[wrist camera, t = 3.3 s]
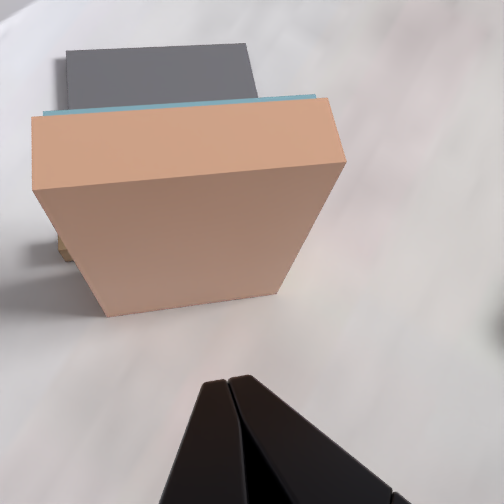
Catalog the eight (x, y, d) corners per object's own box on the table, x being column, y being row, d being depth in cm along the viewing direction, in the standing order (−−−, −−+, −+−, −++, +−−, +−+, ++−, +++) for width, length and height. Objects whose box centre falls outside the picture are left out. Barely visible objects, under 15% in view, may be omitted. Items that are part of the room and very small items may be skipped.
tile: (276, 294, 20) (346, 161, 11) (106, 317, 19) (32, 190, 10) (266, 247, 21) (325, 88, 12) (103, 266, 20) (31, 106, 11)
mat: (282, 216, 22) (283, 211, 21) (76, 239, 20) (74, 233, 20) (244, 50, 26) (245, 43, 25) (68, 58, 24) (65, 50, 24)
